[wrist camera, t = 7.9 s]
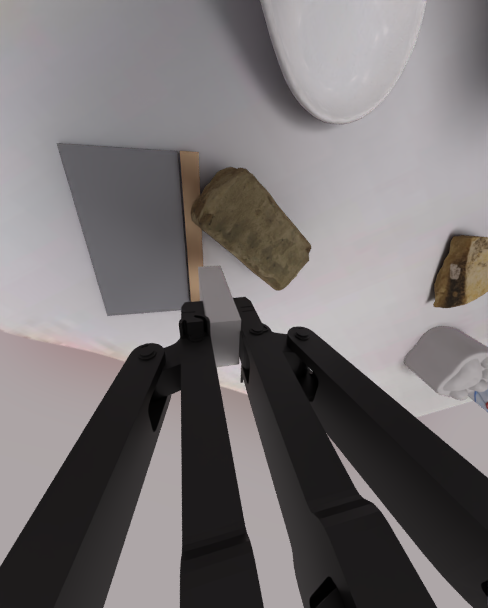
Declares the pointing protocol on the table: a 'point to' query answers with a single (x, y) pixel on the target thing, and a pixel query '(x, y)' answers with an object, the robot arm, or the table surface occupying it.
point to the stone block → (251, 226)
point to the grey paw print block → (450, 362)
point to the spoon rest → (342, 51)
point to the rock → (463, 272)
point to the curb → (192, 230)
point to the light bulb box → (480, 398)
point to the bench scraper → (131, 224)
